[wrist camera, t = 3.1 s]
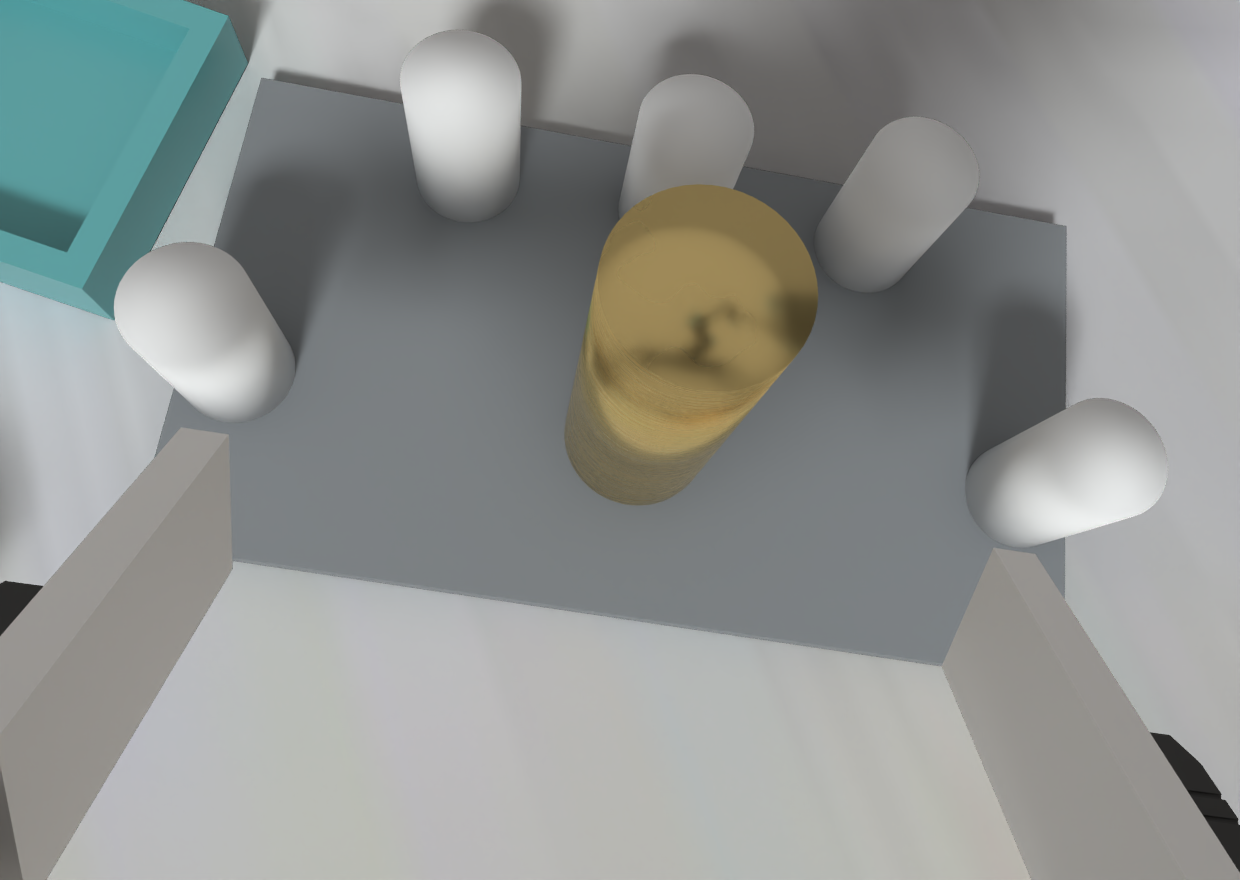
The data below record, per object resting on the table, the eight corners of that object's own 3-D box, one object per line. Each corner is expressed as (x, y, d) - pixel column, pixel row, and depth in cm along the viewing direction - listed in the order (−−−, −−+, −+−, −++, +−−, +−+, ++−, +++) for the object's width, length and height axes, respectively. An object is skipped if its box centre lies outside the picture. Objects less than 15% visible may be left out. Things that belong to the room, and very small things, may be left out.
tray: (248, 63, 29) (228, 15, 27) (114, 320, 27) (81, 289, 25) (-35, -35, 29) (-76, -90, 27) (-198, 214, 27) (-255, 174, 24)
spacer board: (1052, 237, 31) (1159, 146, 26) (1048, 682, 27) (1173, 677, 22) (268, 94, 29) (216, -35, 24) (142, 547, 25) (49, 507, 20)
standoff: (723, 393, 27) (841, 227, 18) (683, 525, 26) (786, 422, 17) (590, 348, 27) (636, 155, 18) (544, 477, 26) (567, 346, 16)
